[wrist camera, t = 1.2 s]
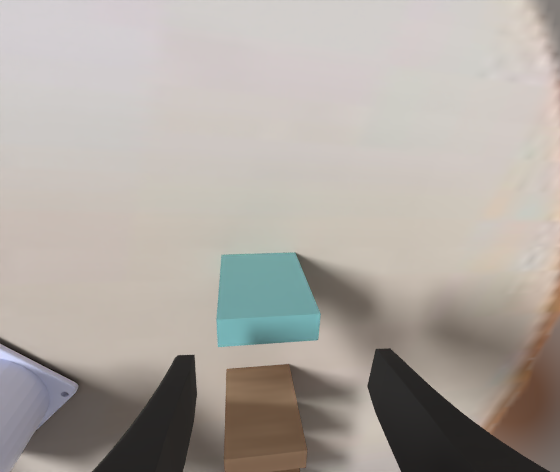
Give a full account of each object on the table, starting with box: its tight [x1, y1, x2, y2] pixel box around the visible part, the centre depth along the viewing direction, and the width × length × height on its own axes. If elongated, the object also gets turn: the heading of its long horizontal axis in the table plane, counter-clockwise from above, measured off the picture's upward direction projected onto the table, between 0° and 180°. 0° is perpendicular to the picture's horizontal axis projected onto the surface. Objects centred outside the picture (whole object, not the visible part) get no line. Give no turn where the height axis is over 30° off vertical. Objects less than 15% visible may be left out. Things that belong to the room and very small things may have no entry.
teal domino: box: [217, 253, 321, 347], centre depth 19 cm, size 2×5×7 cm, turn 88°
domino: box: [224, 364, 307, 472], centre depth 23 cm, size 2×5×7 cm, turn 88°
